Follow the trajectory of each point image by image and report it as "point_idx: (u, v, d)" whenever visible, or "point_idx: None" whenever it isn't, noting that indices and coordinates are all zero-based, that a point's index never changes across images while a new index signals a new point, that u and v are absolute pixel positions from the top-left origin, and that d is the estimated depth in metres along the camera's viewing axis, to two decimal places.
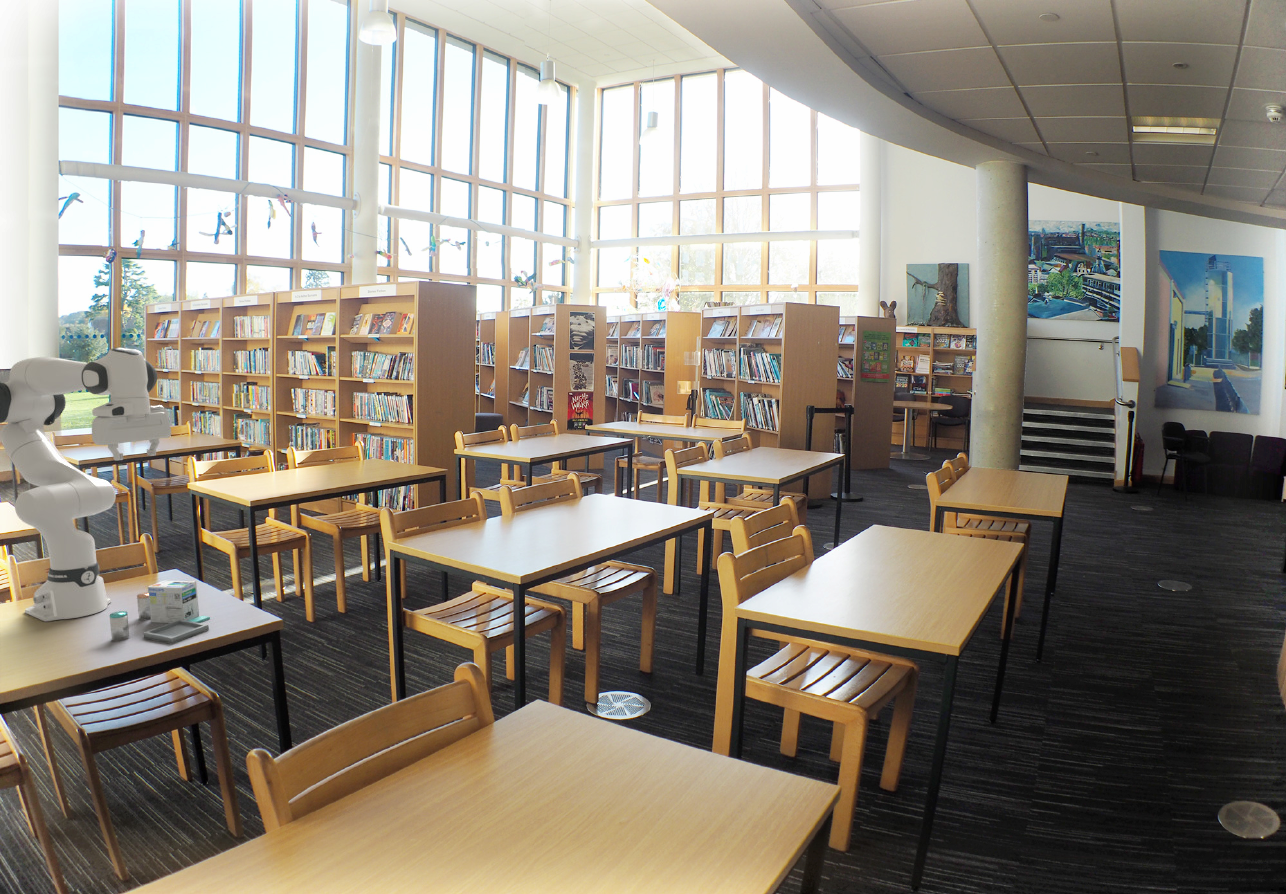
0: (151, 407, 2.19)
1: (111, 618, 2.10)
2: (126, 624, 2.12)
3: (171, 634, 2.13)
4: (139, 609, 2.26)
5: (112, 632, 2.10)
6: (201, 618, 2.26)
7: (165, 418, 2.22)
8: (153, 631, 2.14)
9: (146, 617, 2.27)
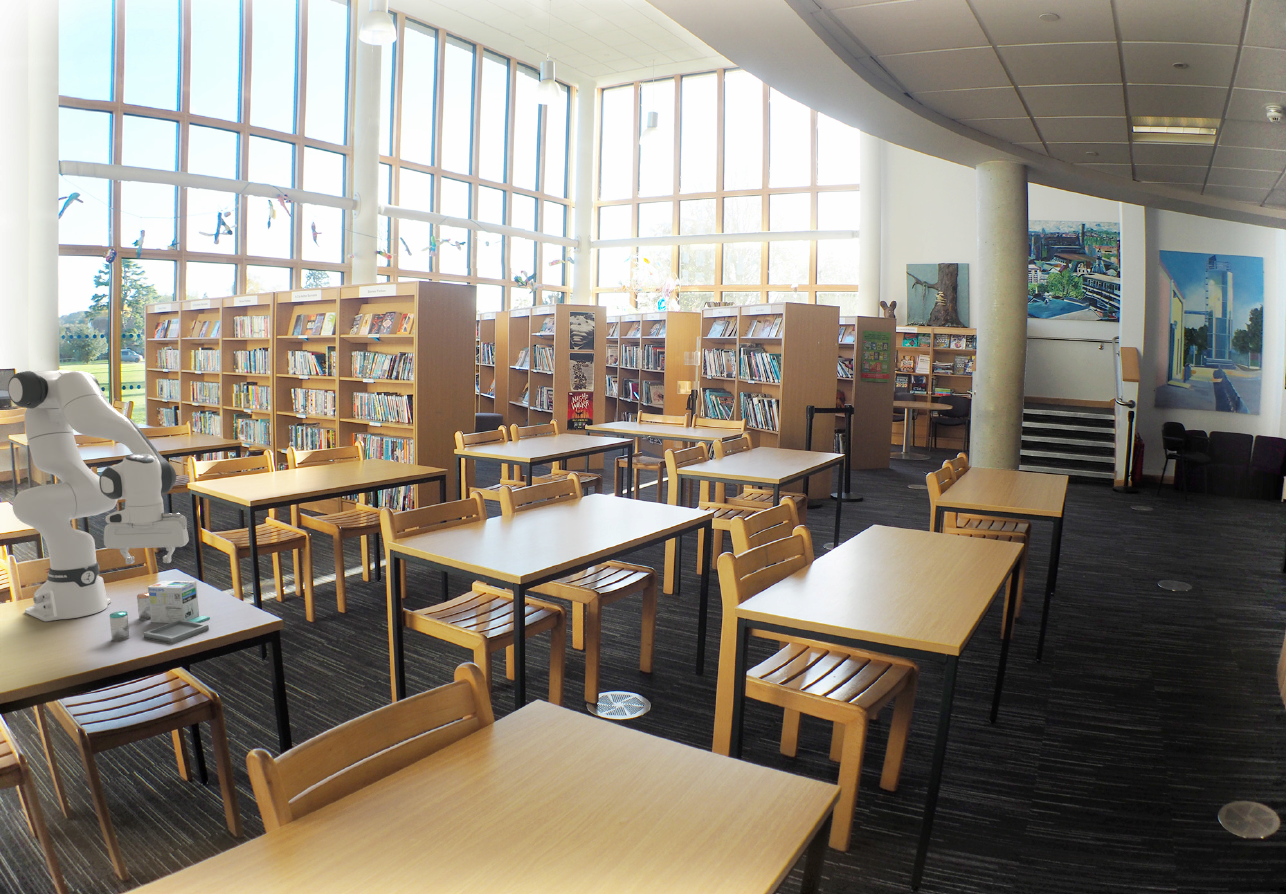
0: (166, 514, 2.14)
1: (111, 618, 2.10)
2: (126, 624, 2.12)
3: (171, 634, 2.13)
4: (139, 609, 2.26)
5: (112, 632, 2.10)
6: (201, 618, 2.26)
7: (176, 527, 2.14)
8: (153, 631, 2.14)
9: (146, 617, 2.27)
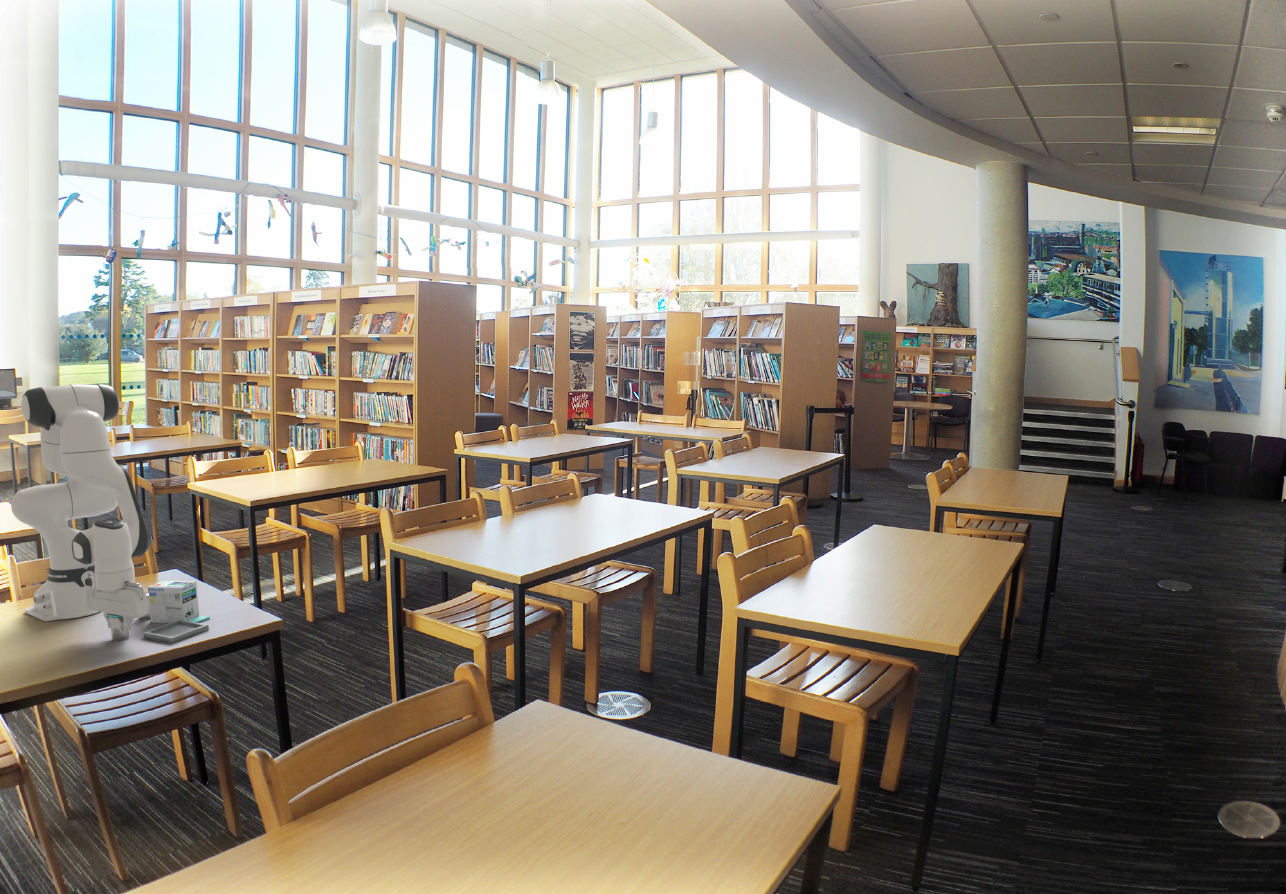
0: (127, 583, 2.08)
1: (111, 618, 2.10)
2: None
3: (171, 634, 2.13)
4: None
5: (112, 632, 2.10)
6: (201, 618, 2.26)
7: (131, 598, 2.06)
8: (153, 631, 2.14)
9: (146, 617, 2.27)
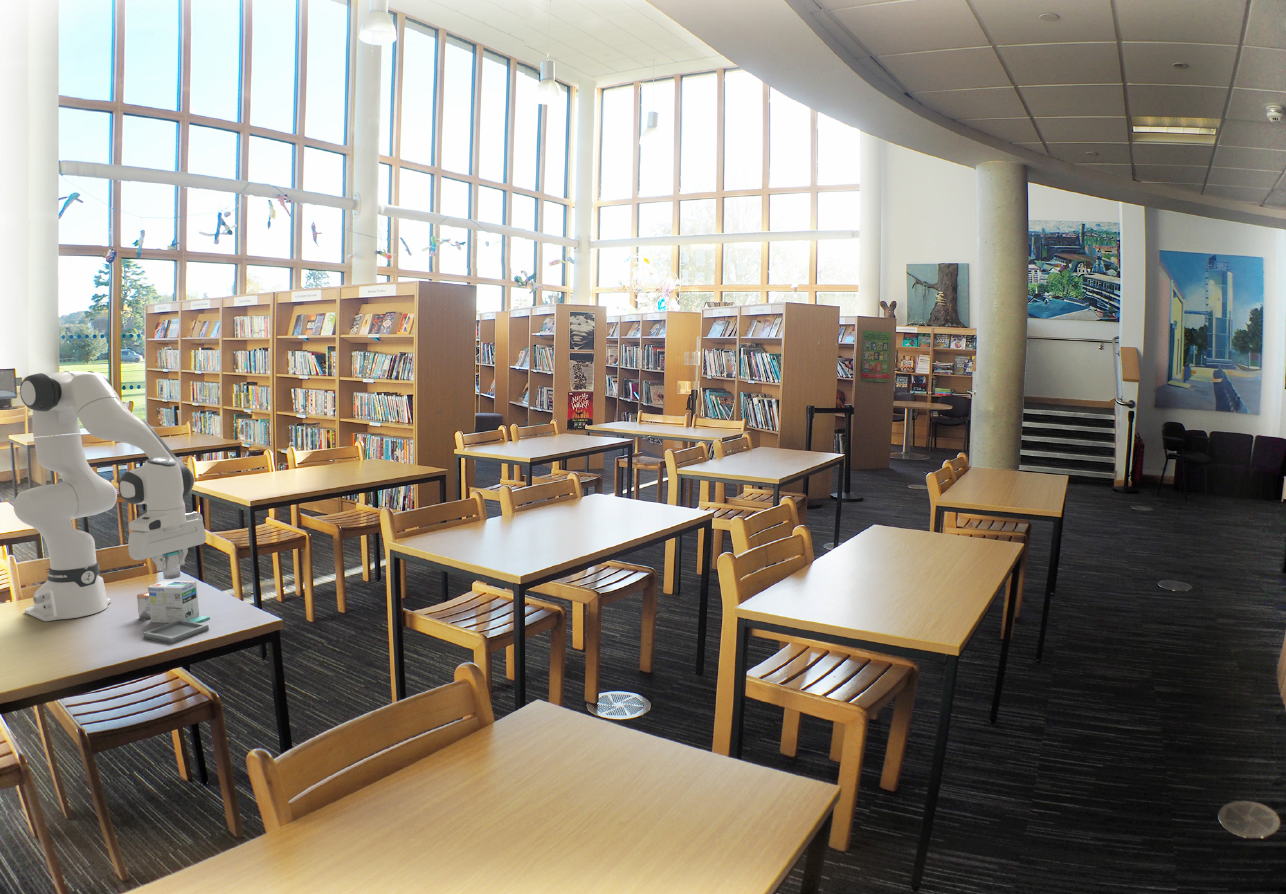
0: (186, 515, 2.16)
1: (174, 555, 2.12)
2: None
3: (171, 634, 2.13)
4: (139, 609, 2.26)
5: (176, 569, 2.12)
6: (201, 618, 2.26)
7: (200, 525, 2.19)
8: (153, 631, 2.14)
9: (146, 617, 2.27)
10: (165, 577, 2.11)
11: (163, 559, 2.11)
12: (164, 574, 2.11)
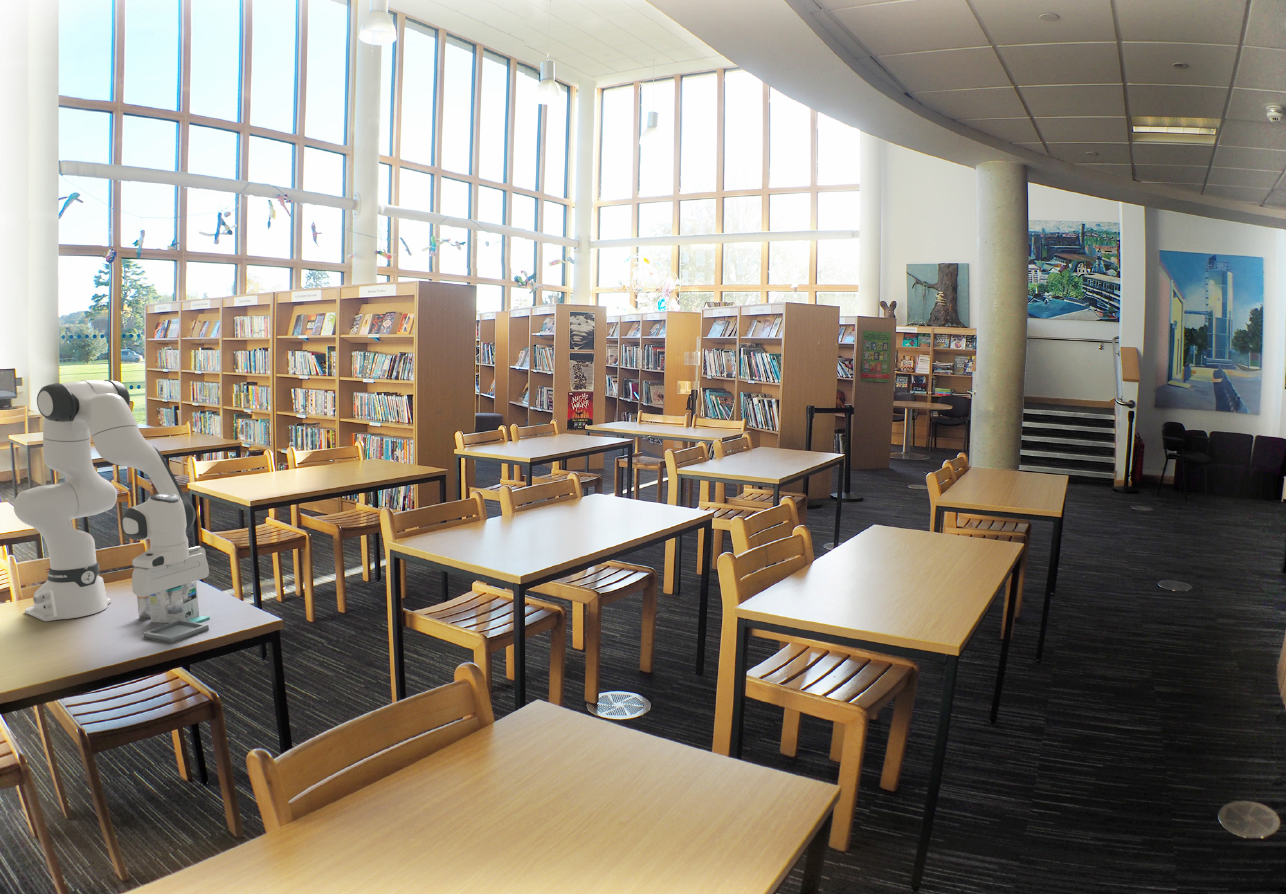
0: (189, 549, 2.17)
1: (178, 590, 2.13)
2: None
3: (171, 634, 2.13)
4: (139, 609, 2.26)
5: (179, 604, 2.13)
6: (201, 618, 2.26)
7: (203, 559, 2.20)
8: (153, 631, 2.14)
9: (146, 617, 2.27)
10: (168, 612, 2.13)
11: (166, 594, 2.12)
12: (167, 609, 2.13)
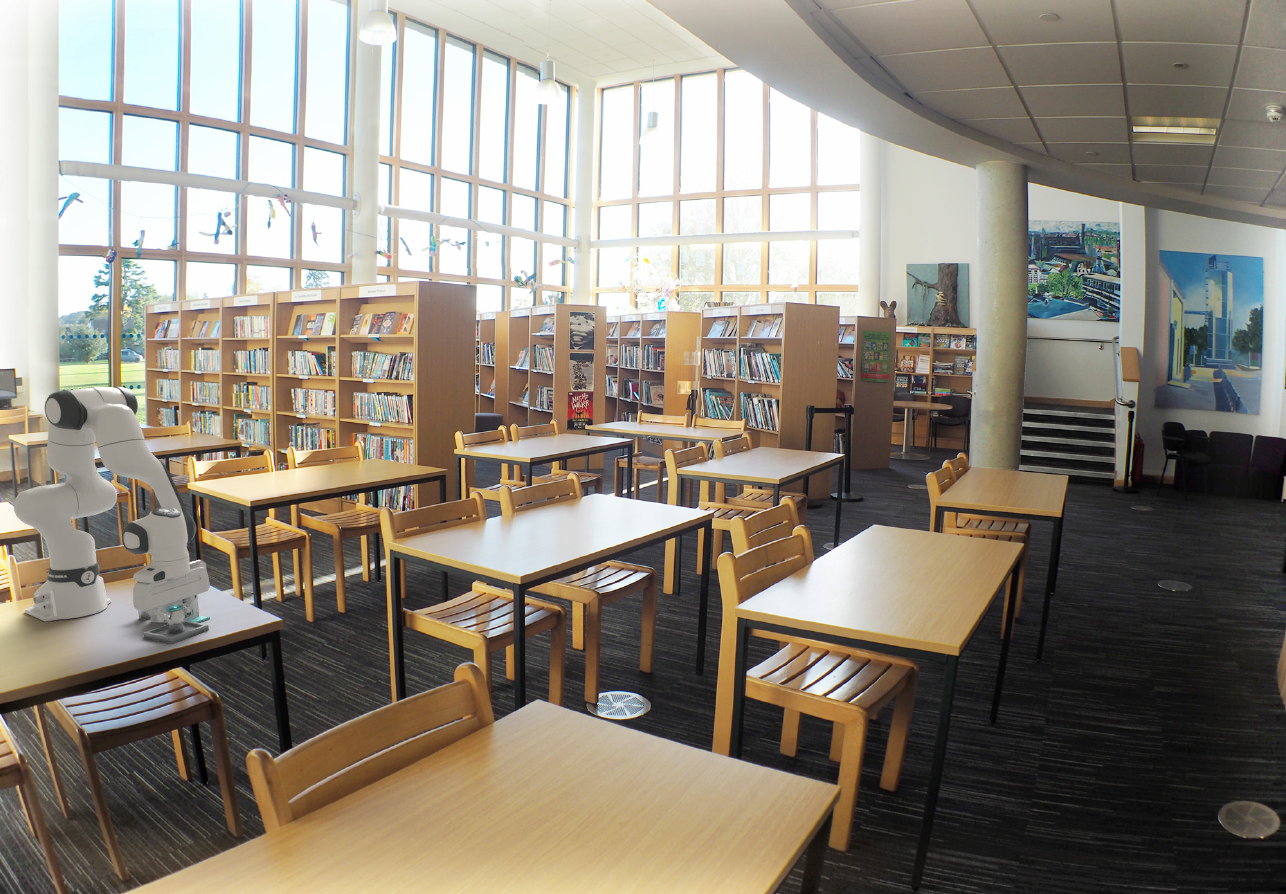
0: (190, 563, 2.18)
1: (179, 611, 2.14)
2: None
3: (171, 634, 2.13)
4: None
5: (180, 624, 2.14)
6: (201, 618, 2.26)
7: (204, 573, 2.21)
8: (153, 631, 2.14)
9: (146, 617, 2.27)
10: (170, 632, 2.13)
11: (167, 614, 2.13)
12: (169, 629, 2.14)
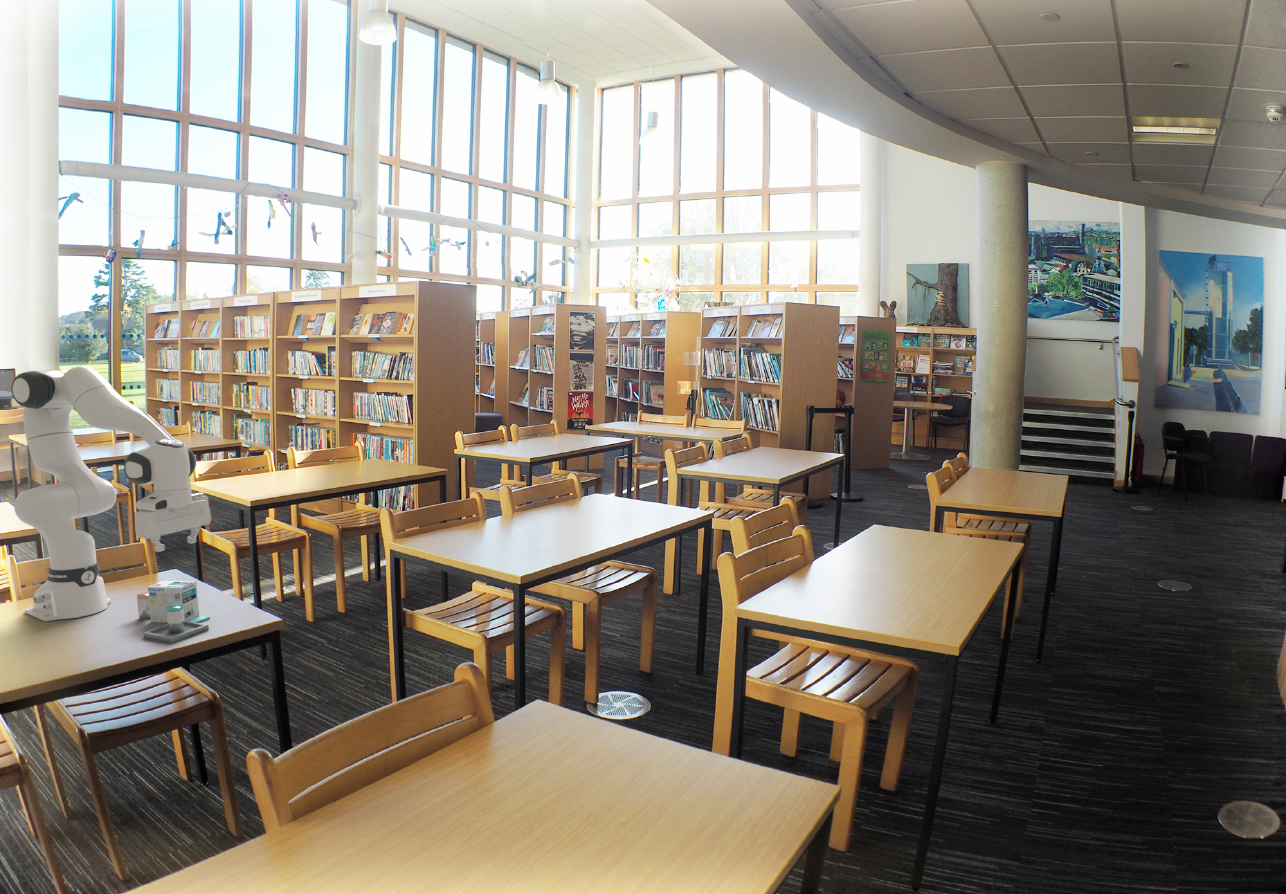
0: (192, 496, 2.21)
1: (179, 611, 2.14)
2: None
3: (171, 634, 2.13)
4: (139, 609, 2.26)
5: (180, 624, 2.14)
6: (201, 618, 2.26)
7: (206, 506, 2.23)
8: (153, 631, 2.14)
9: (146, 617, 2.27)
10: (170, 632, 2.13)
11: (168, 614, 2.13)
12: (169, 629, 2.14)
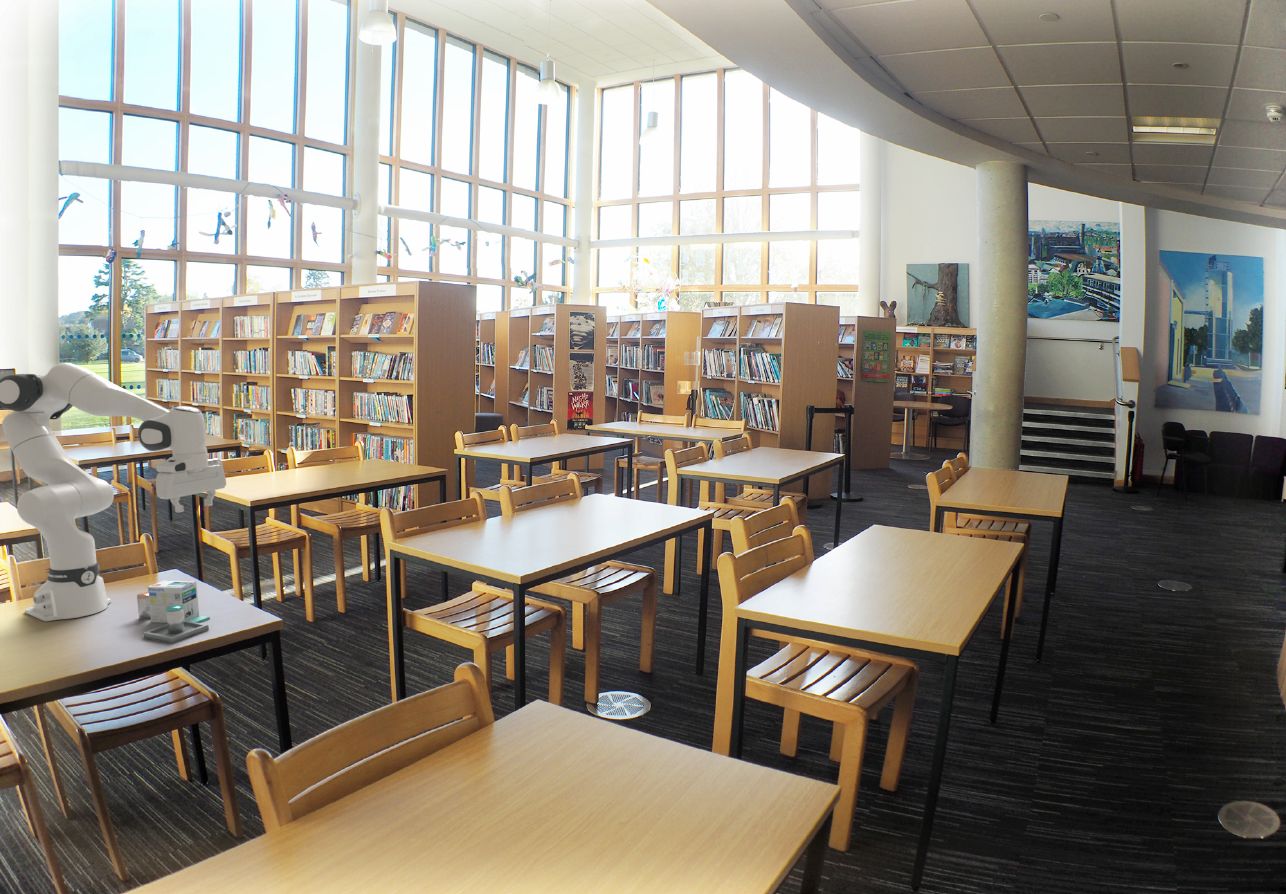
0: (208, 460, 2.33)
1: (179, 610, 2.14)
2: None
3: (171, 634, 2.13)
4: (139, 609, 2.26)
5: (180, 624, 2.14)
6: (201, 618, 2.26)
7: (221, 470, 2.35)
8: (153, 631, 2.14)
9: (146, 617, 2.27)
10: (170, 632, 2.13)
11: (168, 614, 2.13)
12: (169, 629, 2.14)
